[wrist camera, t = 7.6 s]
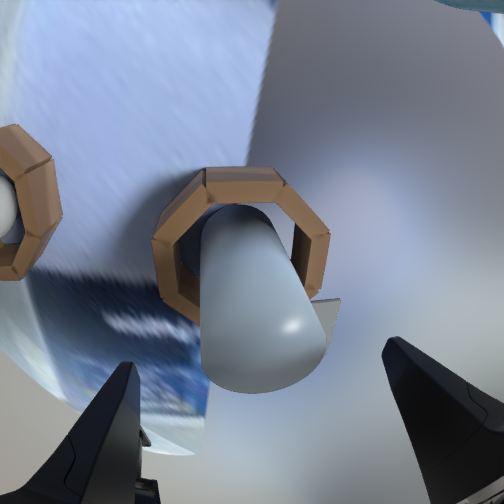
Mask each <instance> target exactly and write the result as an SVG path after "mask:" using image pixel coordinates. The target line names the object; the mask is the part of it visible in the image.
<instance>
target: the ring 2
mask: <svg viewBox="0 0 504 504" xmlns="http://www.w3.org/2000/svg"><path fill="white" fill-rule="evenodd" d="M255 202H256V203H257V202H258V203H259V202H260V203H262V202H276V203H277V204H278V205H279V206H280V207H281V208H282V210H283V211H284V212H285V213H286V214H288V216H289V217H290V218H291V219H292V220H293V221H294V222H295V227H294V238H293V248H292V256H291V259H290V261H291V263H292V265H293V267H294V269H295V271H296V273H297V275H298V277H299V279H300V281H301V283H302V286H303V288H304V290H305V292H306V294H307V296H308V298H309V300H310V299H311V298H312V297H314V296H315V295H316V294H317V293H318V292H319V291H318V289H321V286H322V281H323V275H324V270H325V265H326V259H327V254H328V248H329V242H330V235H331V234H330V233H329V229H328V228H327V227H326V226H325V224H324V223H323V222H322V221H321V220H320V219H319V217H318V216H317V215H316V214H315V213H314V212H313V211H312V209H311V208H310V207H309V206H308V205H307V204H306V203H305V202H304V201H303V199H302V198H301V197H300V196H299V195H298V194H297V193H296V192H295V191H294V189H293V188H292V187H291V186H290V185H289V184H288V183H287V182H286V181H285V180H284V179H283V178H282V177H281V176H280V174H279V173H278V172H277V171H276V170H275V169H272V168H271V167H206V172H205V171H204V170H203V169H202V170H201V171H200V172H199V173H198V174H197V175H196V176H195V177H194V178H193V179H192V180H191V181H190V182H189V183H188V184H187V185H186V186H185V188H184V189H183V190H182V191H181V192H180V193H179V194H178V195H177V196H176V197H175V198H174V199H173V200H172V201H171V203H170V204H169V205H168V206H167V207H166V208H165V209H164V210H163V211H162V213H161V214H160V217H159V220H158V223H157V226H156V228H155V231H154V234H153V237H152V240H151V242H152V249H153V256H154V263H155V269H156V275H157V281H158V287H159V293H160V298H163V302H165V303H166V304H167V305H169V306H170V307H172V308H173V309H175V310H176V311H178V312H179V313H181V314H183V315H184V316H186V317H187V318H189V319H190V320H192V321H193V322H195V323H196V324H198V325H200V277H199V276H197V275H196V274H195V273H193V272H192V271H191V270H189V269H188V268H187V267H186V266H184V265H183V264H182V263H181V254H180V243H179V238H180V237H181V236H182V235H183V234H184V233H185V232H186V231H187V230H188V229H189V228H190V227H191V226H192V225H193V224H194V222H195V221H196V220H197V219H198V218H199V217H200V216H201V215H202V214H203V213H204V212H205V211H206V210H207V209H208V208H209V207H210V206H211V205H212V204H219V203H255Z"/></svg>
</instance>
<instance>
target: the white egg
mask: <svg viewBox="0 0 504 504" xmlns="http://www.w3.org/2000/svg"><path fill="white" fill-rule="evenodd" d="M17 210H18V200H17V195H16V192H15V190H14V187H13V186H12V184H11V183H10V182H9V181H8V180H7V179H6V178H5V177H3V176H1V175H0V238H2V237H3V236H5V235H6V234H7V233H8V231H9V230H10V229H11V227H12V226H13V224H14V221H15V219H16V215H17Z"/></svg>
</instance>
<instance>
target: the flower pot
mask: <svg viewBox="0 0 504 504" xmlns="http://www.w3.org/2000/svg"><path fill="white" fill-rule="evenodd" d="M435 1H437V2H440V3H442V4H445V5H448V6H451V7H455V8H459V9H465V10H472V11H483V12H493V13H502V14H504V0H435Z"/></svg>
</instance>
